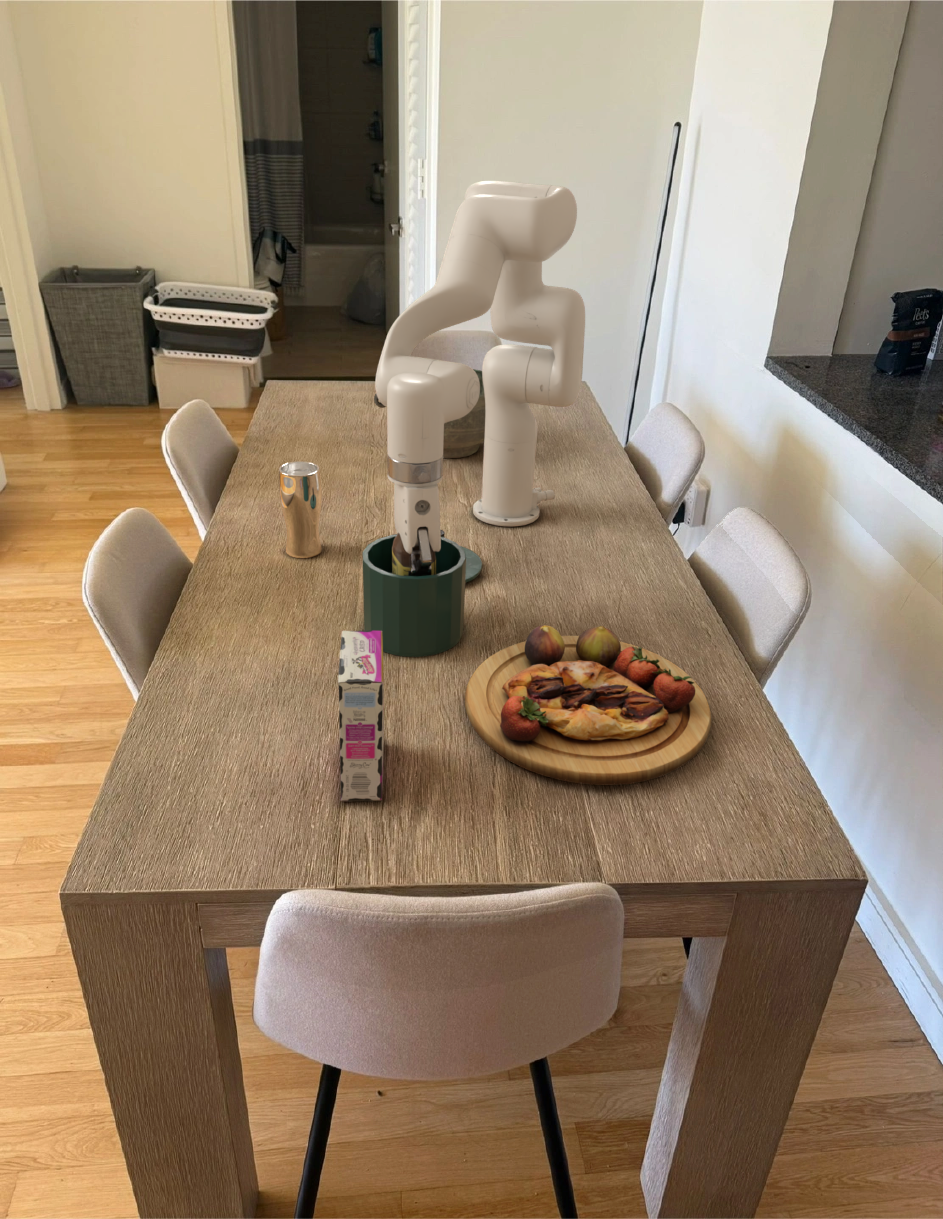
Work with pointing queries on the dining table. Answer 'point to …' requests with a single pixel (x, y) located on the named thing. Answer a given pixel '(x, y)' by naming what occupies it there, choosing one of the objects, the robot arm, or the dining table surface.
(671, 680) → the wooden plate
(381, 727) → the candy bar box
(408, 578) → the tin
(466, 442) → the bowl
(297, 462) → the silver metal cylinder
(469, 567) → the tin lid
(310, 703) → the dining table surface
